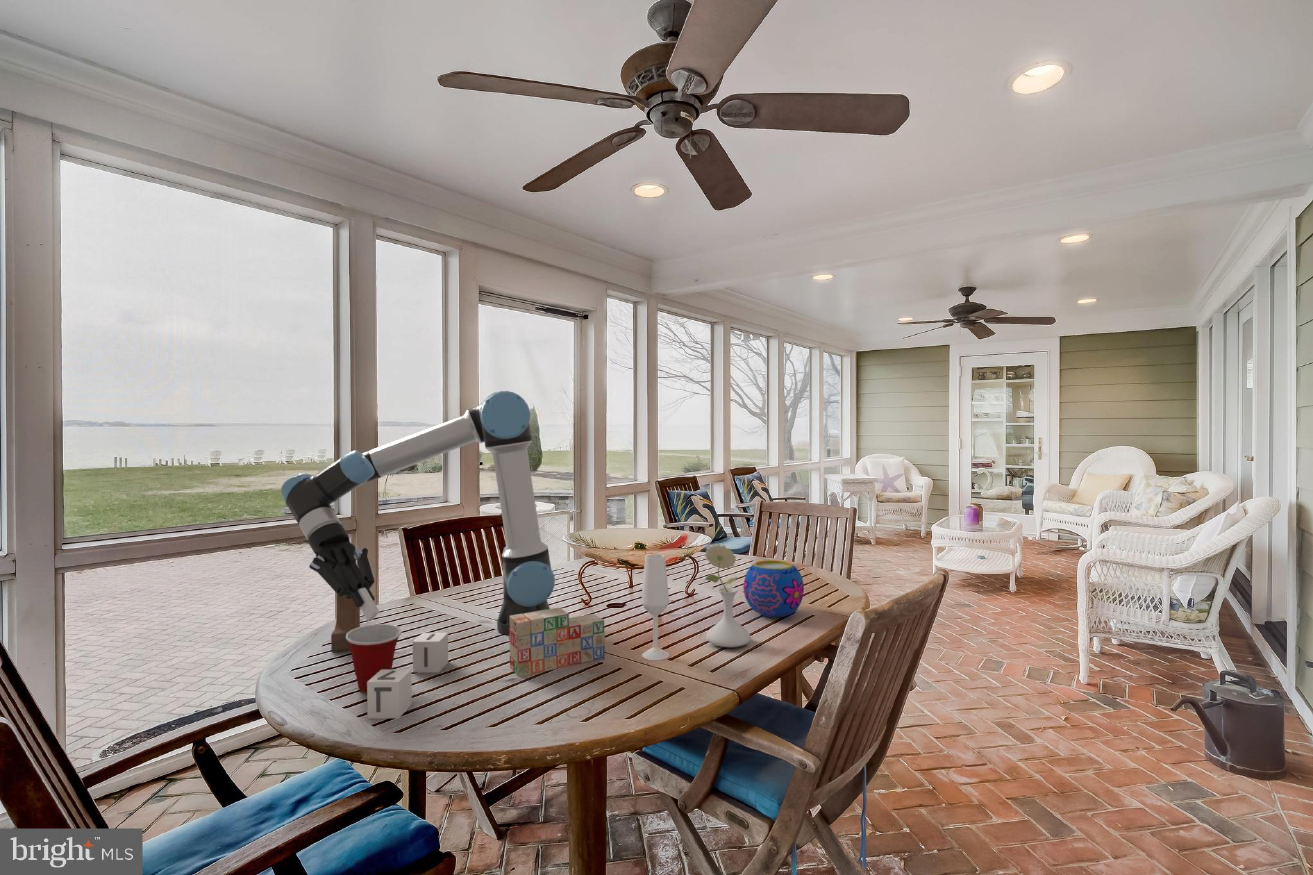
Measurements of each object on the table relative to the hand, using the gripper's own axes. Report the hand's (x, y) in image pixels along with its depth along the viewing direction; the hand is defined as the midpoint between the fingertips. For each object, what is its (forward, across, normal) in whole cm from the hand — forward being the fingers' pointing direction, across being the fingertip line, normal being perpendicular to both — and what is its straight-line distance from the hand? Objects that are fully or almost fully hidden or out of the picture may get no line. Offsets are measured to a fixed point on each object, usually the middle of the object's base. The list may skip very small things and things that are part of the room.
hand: (373, 616), depth 129 cm
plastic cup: (+11, 0, -11) cm, 15 cm away
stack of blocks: (+30, -30, +7) cm, 42 cm away
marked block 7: (+20, +6, -2) cm, 21 cm away
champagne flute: (+42, -45, +20) cm, 64 cm away
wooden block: (-10, -13, -32) cm, 36 cm away
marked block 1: (+12, -13, -10) cm, 20 cm away
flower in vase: (+50, -60, +28) cm, 83 cm away
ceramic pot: (+53, -89, +30) cm, 108 cm away
